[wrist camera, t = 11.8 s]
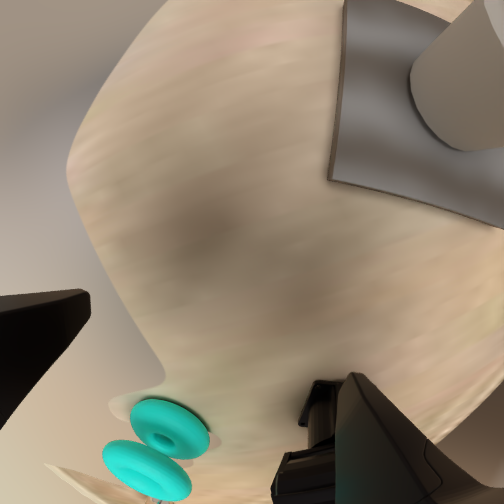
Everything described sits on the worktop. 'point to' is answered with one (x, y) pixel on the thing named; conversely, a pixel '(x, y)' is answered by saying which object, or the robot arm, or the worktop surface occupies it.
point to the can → (465, 79)
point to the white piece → (156, 501)
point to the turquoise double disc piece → (158, 450)
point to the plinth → (402, 119)
